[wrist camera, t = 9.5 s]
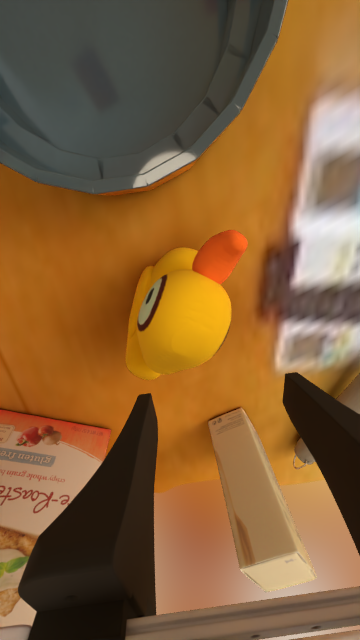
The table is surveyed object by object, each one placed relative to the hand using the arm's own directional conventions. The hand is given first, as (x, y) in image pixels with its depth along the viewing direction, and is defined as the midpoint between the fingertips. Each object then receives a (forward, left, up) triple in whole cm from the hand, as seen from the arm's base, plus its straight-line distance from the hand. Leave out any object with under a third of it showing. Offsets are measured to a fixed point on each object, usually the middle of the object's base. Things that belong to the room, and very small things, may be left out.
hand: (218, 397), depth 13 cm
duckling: (-2, +3, -10) cm, 10 cm away
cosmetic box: (+3, -15, -10) cm, 18 cm away
